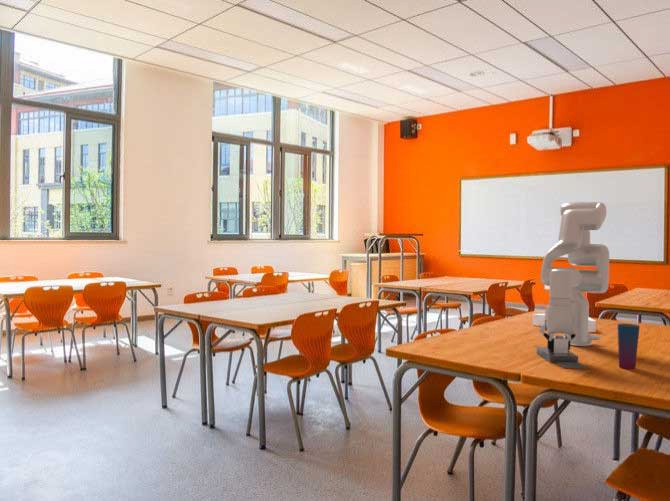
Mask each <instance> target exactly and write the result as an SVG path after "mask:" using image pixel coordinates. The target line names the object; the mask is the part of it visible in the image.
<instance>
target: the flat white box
mask: <svg viewBox="0 0 670 501" xmlns="http://www.w3.org/2000/svg"><path fill="white" fill-rule="evenodd" d="M544 316H545V313H533V314H532V326H534V325H535V327H542V326H543V325H544ZM596 325H597V321H596V320H595V319H593V318H591V317H590V316H589V321H588V333H591V332H595V333H594V334H596V330H597V329H596V328H597V327H596Z"/></svg>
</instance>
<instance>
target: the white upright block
mask: <svg viewBox="0 0 670 501" xmlns="http://www.w3.org/2000/svg"><path fill="white" fill-rule="evenodd" d="M552 341H553V352H550V351H549V352H550V353H552V354H566V355H568V339H567V338H565V337H564V335H560V334H559V335H557V334H556V335H553V338H552Z"/></svg>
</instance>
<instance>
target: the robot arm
mask: <svg viewBox="0 0 670 501" xmlns="http://www.w3.org/2000/svg"><path fill="white" fill-rule="evenodd" d="M559 211H560V216H561V218H560V219H561V220H560V224H559V233H558V240H557V243H555V244H554V245H553V246H552V247H551V248H550V249H549V250H548V251H547V252H546V254H545V255H544V257H543V260H542V265H541V271H540V280H541V283H542V284H543V285H544V286H547V287H549V294H548V295H549V296H548V297H549V298H548V300H549V301H548V304H547V305H546V307H545V311H544V314H545V316H544V325H543V326H540V328H539V329H538V332H539V333H540V334H541V335H542V336H543V337H544V338H545V339H546V341H547V344H546V347H547V348H548V349H549V351H550V352H553V341H552V338H553V336H555V334H563V337H565V338H567V339H568V352H569V351H570V349H571V346H575V347H590V346H592V344H593V342H592V341H600V340H601V336H600V335H594V334H590V332H588V321H589V317H590V315H589V314H590V312H589V311H590V303H589V301H588V299H587V297H586V296H585V295H584V293H589V294H590V293H591V294H604V293H606V292H607V291H608V289H609V286H610V285H609V284H610V283H609V282H610V251H609V248H608V246H606V245H605V244H603V243H601V244H600V243H591V231H597V230H600V229H601V227H602V226H603V224H604V222H605V220H606V217H607V207H606V205H605V203H603V202H601V201H585V202H584V201H574V202H573V201H572V202H565V203H563V204H561V206H560V210H559ZM565 255H567V262H568V263H569V264H570V265H571V266H574V267H575V266H576V267H588V268H589V267H592V268H593V267H594V268H596V270H595V269H584V268H583V269H582V268H581V269H580V268H579V269H578V268H574V267H564V266H552V264H553V263H554V261H555V260H557V259H558V258H560V257H564V256H565ZM545 331H546V332H547V333H546V332H545Z"/></svg>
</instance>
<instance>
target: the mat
mask: <svg viewBox="0 0 670 501" xmlns="http://www.w3.org/2000/svg"><path fill="white" fill-rule="evenodd" d="M555 363H556V364H557V365H559V366H560V367H561V368H563V369H565V368H575V370H576V368H577V370H588V369H589V368H588V367H587V366H585V364H582V363H580V362H578V363H575V362H555Z"/></svg>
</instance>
